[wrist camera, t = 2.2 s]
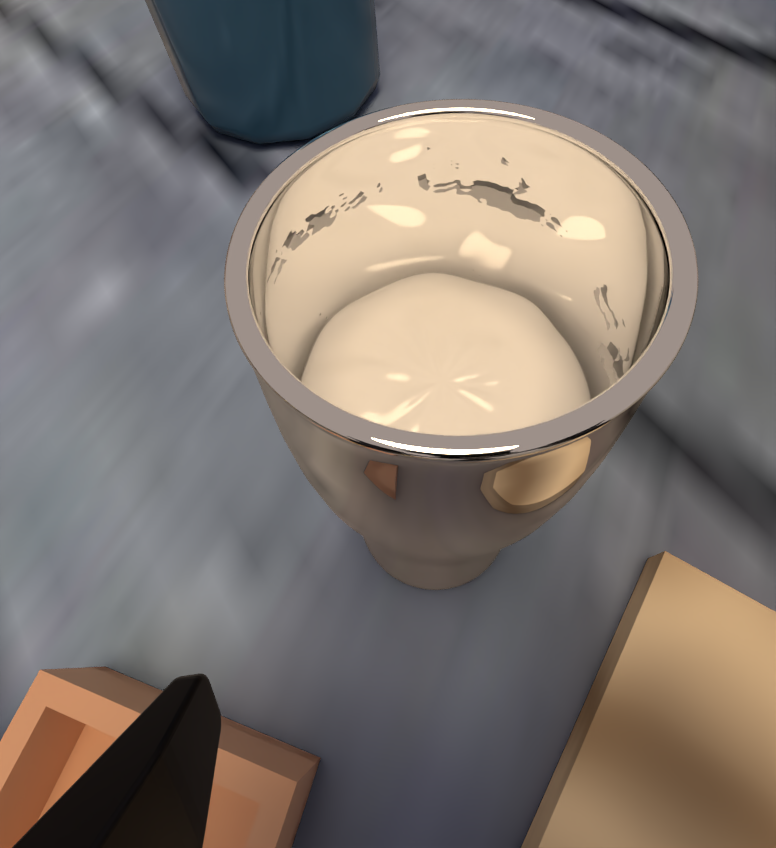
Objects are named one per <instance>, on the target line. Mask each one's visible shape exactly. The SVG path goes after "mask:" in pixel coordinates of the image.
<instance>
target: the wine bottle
mask: <svg viewBox="0 0 776 848" xmlns="http://www.w3.org/2000/svg"><path fill="white" fill-rule="evenodd" d="M145 2H146V4H147V6H148V9H149V11H150V13H151V16H152V18H153V21H154V23H155V25H156V28H157V30H158V32H159V35H160V37H161V39H162V42H163V44H164V46H165V49H166V51H167V53H168V56H169V58H170V60H171V63H172V65H173V67H174V70H175V72H176V74H177V77H178V79H179V81H180V84H181V86H182V88H183V91H184V93H185V95H186V97H187V98H188V99H189V100H190V102H191V103H192V104H193V105H194V106H195V108H196V109H197V110H198V111H199V112H200V114H201V115H202V116H203V117H204V119H205V120H206V121H207V122H208V123H209V124H210V125H211V126H212V127H213V128H214V129H215V130H216V131H217V132H218V133H222V134H225V135H229V136H232V137H236V138H239V139H243V140H246V141H250V142H253V143H257V144H264V143H274V142H283V141H293V140H302V139H310V138H312V137H314V136H316V135H318V134H320V133H322V132H324V131H326V130H328V129H330V128H332V127H335V126H337V125H339V124H341V123H343V122H345V121H347V120H349V119H351V118H353V117H354V115H355V114H356V113H357V111H358V110H359V109H360V107H361V106H362V105H363V104H364V102H365V101H366V100H367V98H368V97H369V96H370V95H371V93H372V92H373V91H374V89H375V88H376V85H377V81H378V78H379V75H380V70H379V57H378V44H377V30H376V17H375V4H374V0H145Z"/></svg>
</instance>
